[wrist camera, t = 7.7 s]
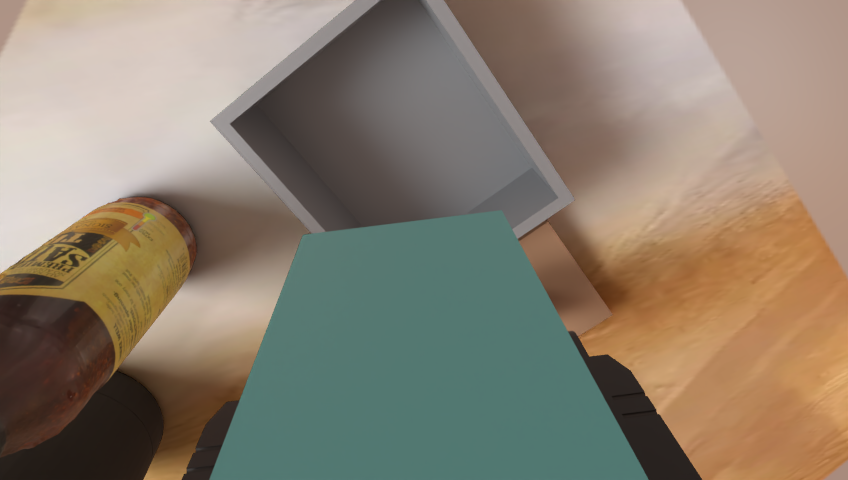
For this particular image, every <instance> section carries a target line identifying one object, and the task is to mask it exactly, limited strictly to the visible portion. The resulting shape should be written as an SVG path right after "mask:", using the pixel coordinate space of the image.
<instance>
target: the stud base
mask: <svg viewBox="0 0 848 480" xmlns="http://www.w3.org/2000/svg"><path fill="white" fill-rule="evenodd" d="M518 241H519V243H520V245H521V246H522V248H523V250H524V252H525V254H526V256H527V257H528V259H529V261H530V263H531V265H532V267H533V268H534V270H535V272H536V274H537V276H538V278H539V279H540V281H541V283H542V285H543V287H544V289H545V290H546V292H547V294H548V296H549V298H550V300H551V302H552V303H553V305H554V307H555V309H556V311H557V313H558V314H559V316H560V318H561V320H562V322H563V324H564V325H565V327H566V329H567V331H574V332H575V333H576V334H577V336H579V335H581V334H583V333H584V332H586V331H587V330H589V329H591V328H592V327H594V326H596V325H597V324H599V323H600V322H602V321H604V320H605V319H607V318H609V317H610V316H612V315H613V314H612V313H611V311H610V310H609V309H608V307H607V306H606V304H605V303H604V301H603V300H602V299H601V297H600V296H599V294H598V293H597V291H596V290H595V288H594V287H593V286H592V284H591V283H590V281H589V280H588V278H587V277H586V275H585V274H584V273H583V271H582V270H581V268H580V267H579V265H578V264H577V262H576V261H575V260H574V258H573V257H572V255H571V254H570V252H569V251H568V250H567V248H566V247H565V245H564V244H563V242H562V241H561V239H560V238H559V237H558V235H557V234H556V232H555V231H554V229H553V228H552V226H551V225H550V224H549V222H548V221H547V219H546V220H545V221H543V222H542V223H540V224H539V225H537V226H536V227H534V228H533V229H531V230H530V231H529V232H527V233H526V234H524V235H523V236H521V237H520V238H518Z"/></svg>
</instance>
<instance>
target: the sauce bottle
mask: <svg viewBox="0 0 848 480" xmlns="http://www.w3.org/2000/svg"><path fill="white" fill-rule="evenodd" d="M196 252H197V245H196V241H195V236H194V234H193V233H192V229H191V228H190V225H189V224H188V223H187V222H186V221H185V219H184V218H183V217H182V216H181V215H180V214H179V213H178V212H177V211H176V210H175V209H173V208H172V207H171V206H169V205H167V204H165V203H162V202H161V201H158V200H155V199H152V198H145V197H131V198H125V199H119V200H117V201H115V202H112V203H108V204H106V205H103V206H101V207H99V208H97V209H95V210H93V211H92V212H90V213H89V214H87V215H86V216H84V217H83V218H82V219H80V220H79V221H77V222H76V223H74V224H73V225H71V226H70V227H68V228H67V229H65V230H64V231H63V232H61V233H60V234H58V235H57V236H55V237H54V238H52V239H51V240H49V241H48V242H46V243H44V244H43V245H42V246H41V247H39V248H38V249H36V250H35V251H33V252H32V253H30V254H29V255H27V256H25V257H24V258H22V259H21V260H20V261H19V262H17V263H16V264H14V265H12V266H10V267H9V268H8V269H7V270H5V271H4V272H2V273H1V274H0V458H1V457H4V456H6V455H8V454H12V453H15V452H17V451H19V450H22V449H30V448H33V447H35V446H37V445H38V444H40V443H42V442H44V441H46V440H48V439H50V438H52V437H54V436H56V435H58V434H59V433H60V432H61V431H62V430H63V429H64V428H65V427H66V426H67V425H68V424H69V423H70V422H71V421H72V420H74V419H75V417H77V415H78V414H79V412H80V411H81V410H82V409H83V408H84V406H85V405H86V404H87V403H88V401H89V400H90V398H91V397H92V395H93V394H94V393H95V392H96V391H97V390H99V389H100V388H101V387H102V386H103V385H104V384H105V383H106V382H107V381H108V380H109V379H110V377H111V376H112V375H113V374H114V372H115V371H116V370H117V369H118V367H119V366H120V365H121V364H122V362H123V361H124V360H125V358H126V357H127V356H128V355H129V353H130V352H131V351H132V349H133V348H134V347H135V346H136V344H137V343H138V342H139V340H140V339H141V338H142V337H143V335H144V334H145V333H146V332H147V330H148V329H149V328H150V326H151V325H152V324H153V323H154V321H155V320H156V319H157V318H158V316H159V315H160V314H161V312H162V311H163V310H164V309H165V307H166V306H167V305H168V303H169V302H170V301H171V300H172V298H173V297H174V296H175V294H176V293H177V292H178V290H179V289H180V288H181V287H182V285H183V284H184V282H185V280H186V279H187V276H188V274H189V272H190V270H191V269H192V266H193V263H194V260H195V257H196Z"/></svg>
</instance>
